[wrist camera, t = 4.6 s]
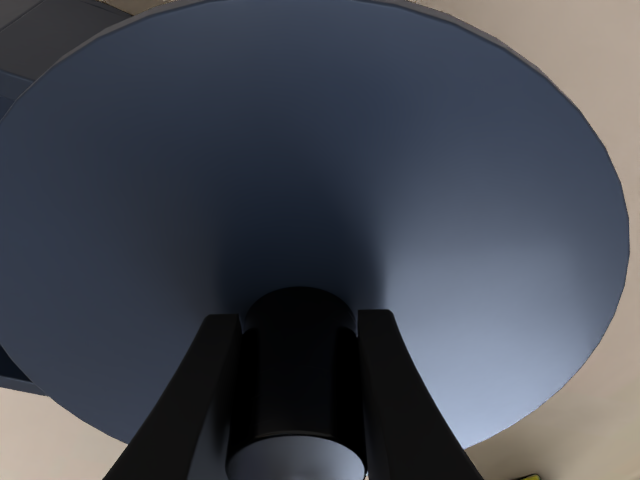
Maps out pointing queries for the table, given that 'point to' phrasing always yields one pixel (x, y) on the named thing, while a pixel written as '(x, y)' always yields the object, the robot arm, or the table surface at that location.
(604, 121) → the table surface
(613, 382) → the table surface
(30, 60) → the pot
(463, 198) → the pot lid
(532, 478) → the crayon box
